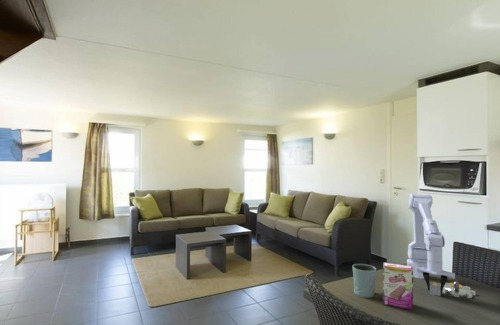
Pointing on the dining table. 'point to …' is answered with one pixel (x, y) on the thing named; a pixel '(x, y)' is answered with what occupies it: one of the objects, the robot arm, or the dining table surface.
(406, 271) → the candy bar box
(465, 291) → the sprocket
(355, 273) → the teal cup
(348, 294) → the dining table surface
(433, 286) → the link block
